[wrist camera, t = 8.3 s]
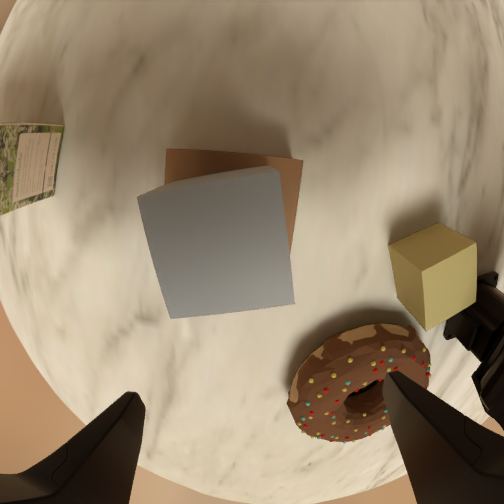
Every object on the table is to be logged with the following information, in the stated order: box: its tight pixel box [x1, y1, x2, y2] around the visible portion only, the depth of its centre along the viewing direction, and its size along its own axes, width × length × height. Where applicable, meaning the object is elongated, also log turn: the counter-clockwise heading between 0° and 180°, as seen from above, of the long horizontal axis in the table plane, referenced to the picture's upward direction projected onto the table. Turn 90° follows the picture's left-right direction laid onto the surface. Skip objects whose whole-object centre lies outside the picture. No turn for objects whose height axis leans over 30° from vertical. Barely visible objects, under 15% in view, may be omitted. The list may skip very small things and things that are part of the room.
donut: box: [287, 323, 431, 443], centre depth 21 cm, size 14×14×5 cm
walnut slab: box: [165, 149, 303, 253], centre depth 17 cm, size 7×7×4 cm
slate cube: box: [137, 165, 295, 319], centre depth 12 cm, size 5×5×5 cm
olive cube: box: [388, 223, 477, 331], centre depth 17 cm, size 5×5×5 cm
